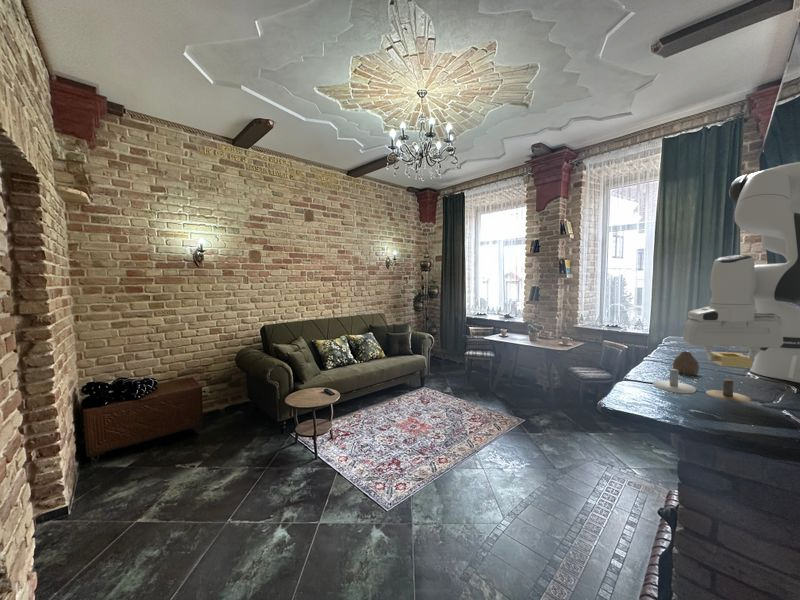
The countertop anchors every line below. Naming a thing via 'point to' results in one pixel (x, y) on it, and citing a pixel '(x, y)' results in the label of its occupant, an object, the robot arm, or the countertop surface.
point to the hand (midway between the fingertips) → (729, 361)
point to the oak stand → (728, 393)
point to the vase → (686, 364)
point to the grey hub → (674, 384)
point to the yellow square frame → (733, 359)
